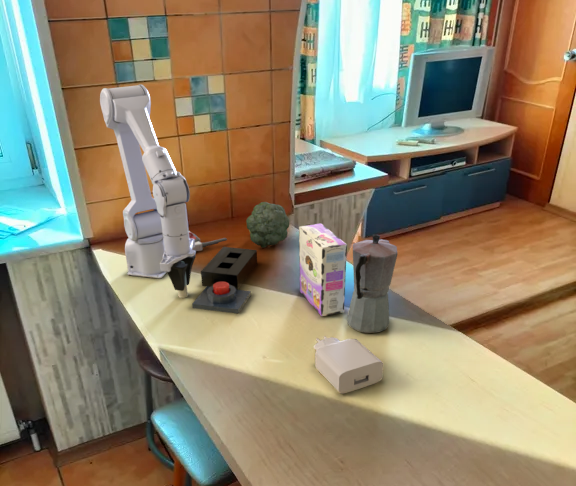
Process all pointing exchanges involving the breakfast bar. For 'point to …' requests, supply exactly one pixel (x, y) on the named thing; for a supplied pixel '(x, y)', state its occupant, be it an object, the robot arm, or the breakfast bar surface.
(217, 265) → the holder
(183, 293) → the light blue tube
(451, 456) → the breakfast bar surface
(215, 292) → the power button
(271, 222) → the vegetable
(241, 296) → the grey button base
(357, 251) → the moka pot
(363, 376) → the charger
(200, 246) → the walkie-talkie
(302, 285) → the candy box
